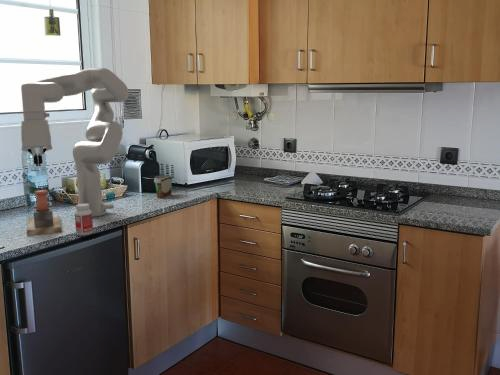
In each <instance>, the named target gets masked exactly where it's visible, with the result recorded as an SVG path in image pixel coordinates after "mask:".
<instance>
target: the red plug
mask: <svg viewBox="0 0 500 375" xmlns="http://www.w3.org/2000/svg"><path fill="white" fill-rule="evenodd" d="M34 194H35V196H37V198H36V202H37V207H38V212H40V211H48V205H47V202H48V198H47V195H48V190H46V189H42V190H35V191H34Z"/></svg>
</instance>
